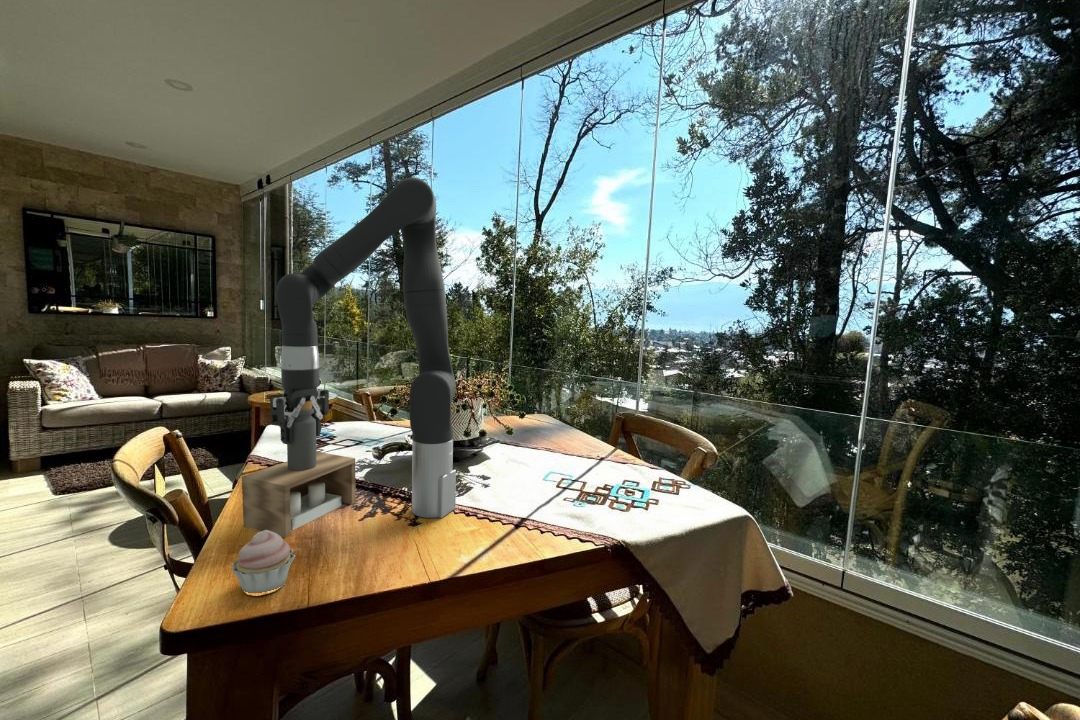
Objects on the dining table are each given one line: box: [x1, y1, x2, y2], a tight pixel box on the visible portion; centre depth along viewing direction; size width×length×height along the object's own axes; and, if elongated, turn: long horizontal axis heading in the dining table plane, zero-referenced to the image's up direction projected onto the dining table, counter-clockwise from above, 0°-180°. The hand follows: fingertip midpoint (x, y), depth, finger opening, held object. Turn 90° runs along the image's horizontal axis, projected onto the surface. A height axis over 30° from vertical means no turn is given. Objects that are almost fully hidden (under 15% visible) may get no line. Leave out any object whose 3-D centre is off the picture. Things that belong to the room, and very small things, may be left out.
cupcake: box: [231, 530, 296, 593], centre depth 81 cm, size 9×9×10 cm
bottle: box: [286, 401, 317, 471], centre depth 108 cm, size 6×6×15 cm
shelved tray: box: [290, 482, 343, 531], centre depth 109 cm, size 8×14×6 cm, turn 160°
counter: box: [241, 451, 357, 539], centre depth 109 cm, size 12×20×11 cm, turn 160°
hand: (301, 439), depth 108 cm, fingers open, 7 cm apart
